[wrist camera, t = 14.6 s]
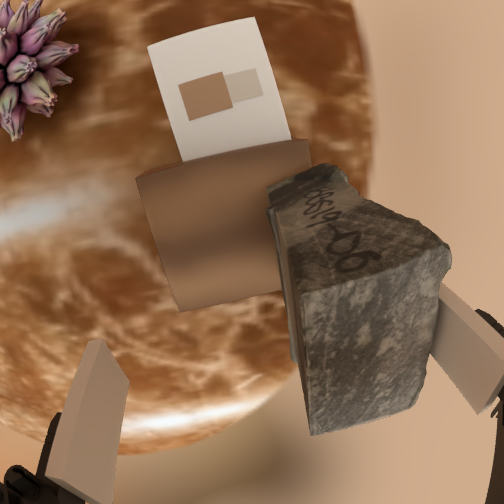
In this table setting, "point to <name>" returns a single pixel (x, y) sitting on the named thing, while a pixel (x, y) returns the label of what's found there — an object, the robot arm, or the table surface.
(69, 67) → the table surface
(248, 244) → the base brick
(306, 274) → the stone block
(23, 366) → the table surface
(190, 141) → the page
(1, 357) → the table surface
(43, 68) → the flower
